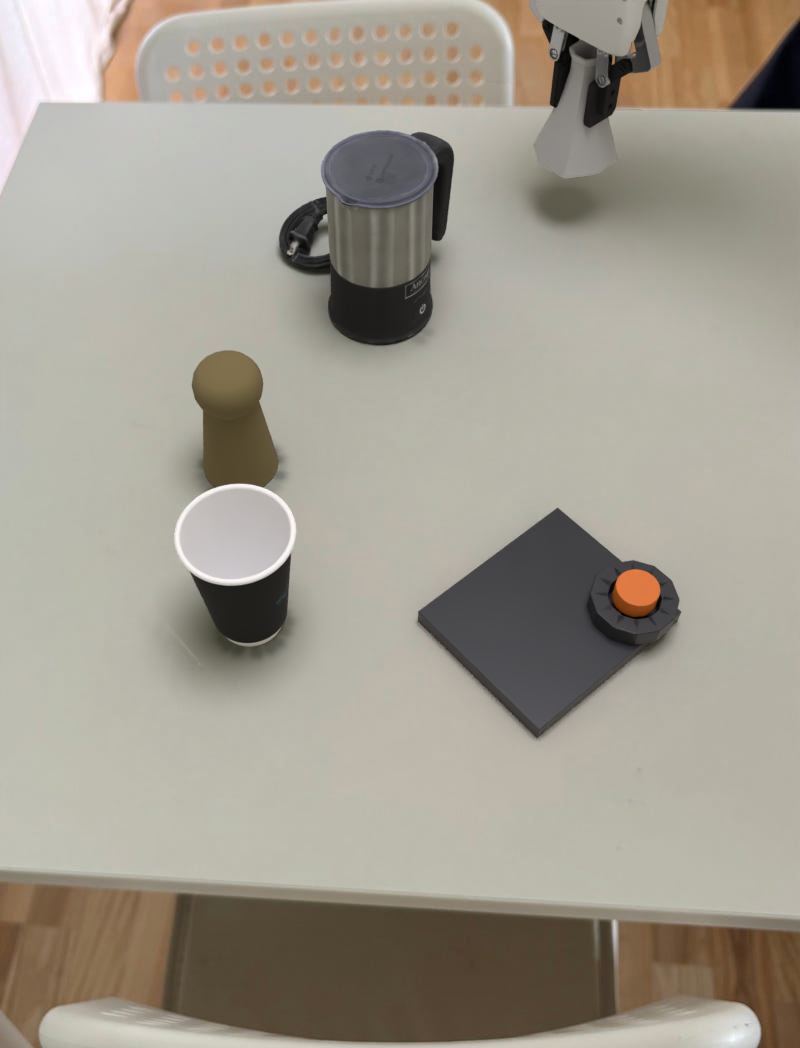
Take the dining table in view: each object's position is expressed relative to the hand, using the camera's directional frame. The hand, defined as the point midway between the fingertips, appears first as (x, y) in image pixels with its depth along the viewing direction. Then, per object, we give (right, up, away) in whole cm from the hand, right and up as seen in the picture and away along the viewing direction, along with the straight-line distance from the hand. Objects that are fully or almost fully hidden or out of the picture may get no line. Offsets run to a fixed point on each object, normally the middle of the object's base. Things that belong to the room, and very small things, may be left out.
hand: (581, 108), depth 94 cm
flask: (0, -3, +4) cm, 5 cm away
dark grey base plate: (-6, -43, -16) cm, 46 cm away
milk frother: (-19, -14, +5) cm, 24 cm away
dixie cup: (-27, -43, -14) cm, 53 cm away
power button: (-1, -42, -18) cm, 45 cm away
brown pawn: (-29, -31, -6) cm, 43 cm away
